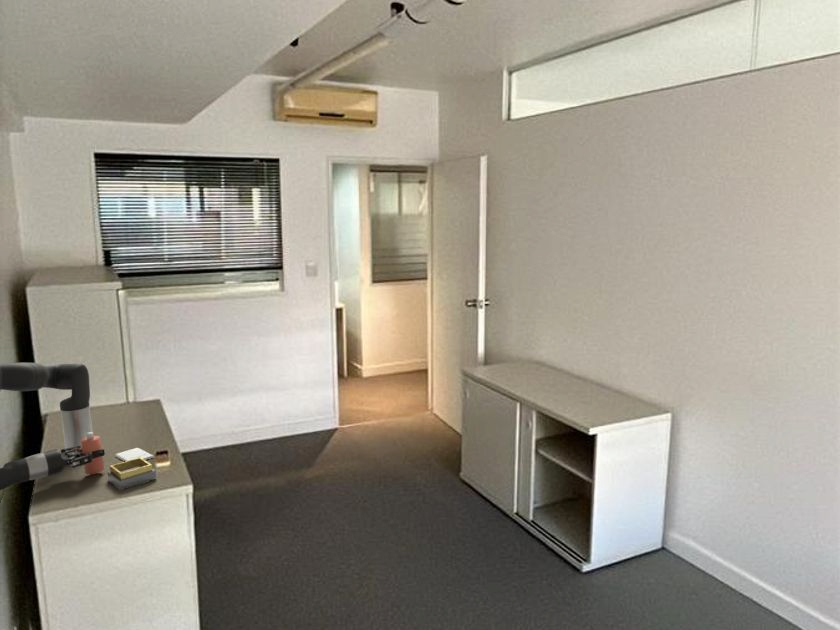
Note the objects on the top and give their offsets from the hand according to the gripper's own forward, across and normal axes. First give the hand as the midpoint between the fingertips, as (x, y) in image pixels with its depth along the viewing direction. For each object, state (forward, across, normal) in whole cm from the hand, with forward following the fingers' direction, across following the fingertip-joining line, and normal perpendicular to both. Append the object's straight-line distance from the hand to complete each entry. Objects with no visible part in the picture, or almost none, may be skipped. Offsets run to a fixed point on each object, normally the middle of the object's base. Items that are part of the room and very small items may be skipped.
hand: (100, 449), depth 203 cm
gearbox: (+4, -14, +8) cm, 17 cm away
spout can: (-3, 0, +6) cm, 7 cm away
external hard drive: (+12, +6, +9) cm, 16 cm away
